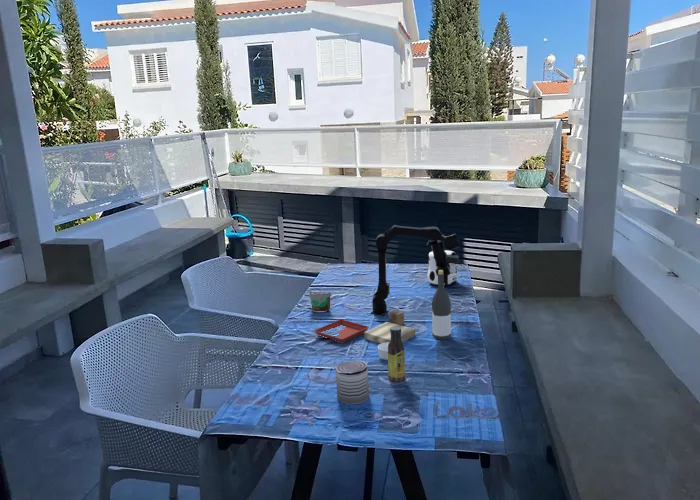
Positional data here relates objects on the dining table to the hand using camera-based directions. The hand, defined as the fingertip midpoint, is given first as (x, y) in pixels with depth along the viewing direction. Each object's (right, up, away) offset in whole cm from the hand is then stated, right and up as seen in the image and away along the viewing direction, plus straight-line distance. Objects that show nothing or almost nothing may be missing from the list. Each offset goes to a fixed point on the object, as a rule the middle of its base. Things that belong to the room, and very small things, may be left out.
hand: (446, 282), depth 268 cm
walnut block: (-25, -19, -10) cm, 34 cm away
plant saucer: (-51, -23, -18) cm, 59 cm away
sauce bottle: (-30, -32, -64) cm, 77 cm away
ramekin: (-32, -28, -44) cm, 61 cm away
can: (-46, -36, -75) cm, 95 cm away
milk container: (+6, -4, +50) cm, 50 cm away
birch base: (-30, -23, -24) cm, 45 cm away
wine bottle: (-7, -22, -26) cm, 35 cm away
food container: (-63, -16, +14) cm, 67 cm away
